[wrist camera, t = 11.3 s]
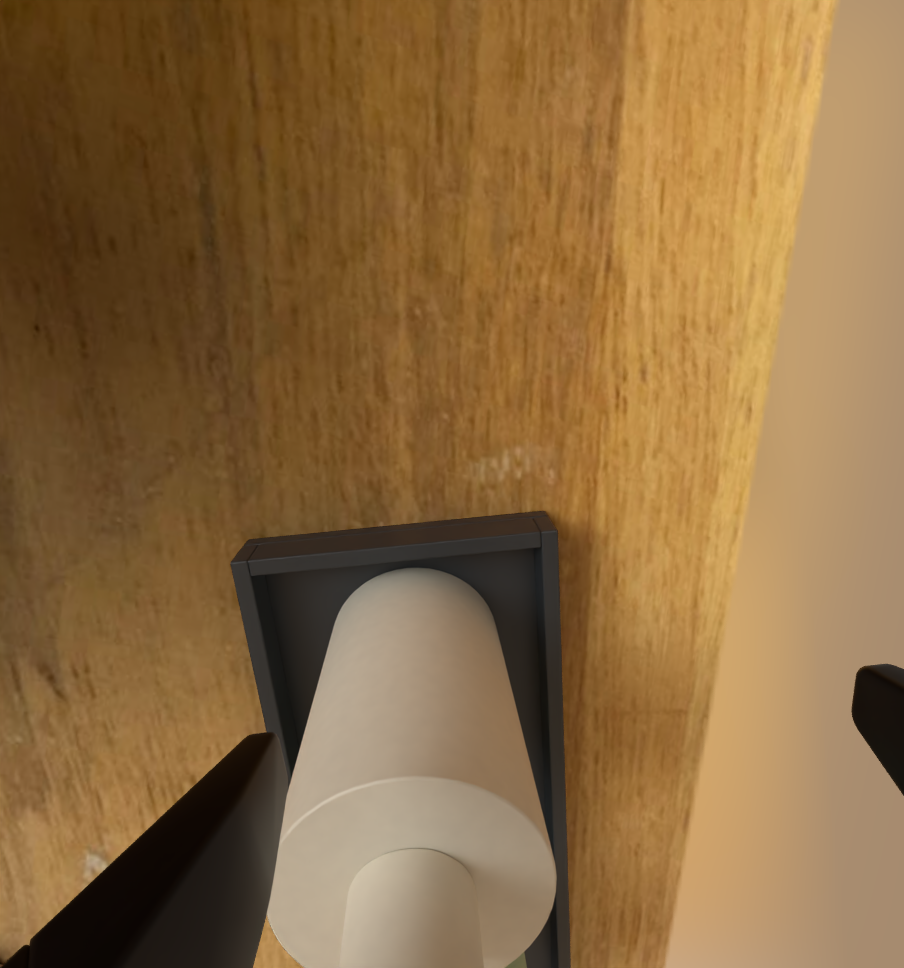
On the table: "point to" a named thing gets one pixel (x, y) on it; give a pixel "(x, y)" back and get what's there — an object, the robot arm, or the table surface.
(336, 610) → the tray
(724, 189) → the table surface
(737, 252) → the table surface
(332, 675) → the cream bottle
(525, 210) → the table surface
